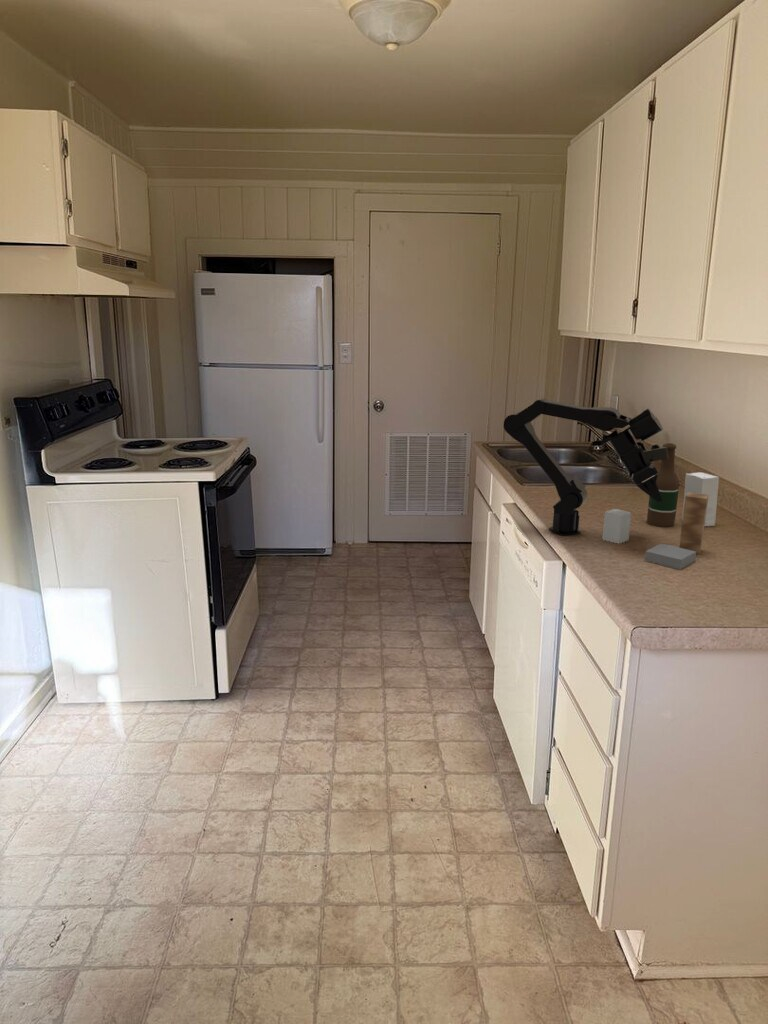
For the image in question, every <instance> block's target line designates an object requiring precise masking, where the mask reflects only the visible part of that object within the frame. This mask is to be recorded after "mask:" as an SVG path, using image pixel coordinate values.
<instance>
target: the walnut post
mask: <svg viewBox="0 0 768 1024" xmlns="http://www.w3.org/2000/svg"><path fill="white" fill-rule="evenodd" d="M708 496H709V495H708V494H699V493H690V492H688V493H687V495H686V497H685V505H684V513H683V512H682V515H683V520H681V521H682V522H681V530H680V540H679V546H678V547H679V548H683V549H687V550H692V551H696V555H700V554H701V552H702V548H703V540H704V532H705V527H706V526H705V519H706V511H707V504H708Z"/></svg>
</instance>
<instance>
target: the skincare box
mask: <svg viewBox="0 0 768 1024" xmlns="http://www.w3.org/2000/svg"><path fill="white" fill-rule="evenodd" d="M719 482H720V476H716V475H713V474H710V473H706V472H702V471H701V472H689V473H688V472H687V473H685V480H684V489H683V490H684V494H683V505H682V514H681V515H682V516H681V517H682V518H681V521H683V513H684V505H685V497H686V495H687V493H688V492H690V493H699V494H708V495H709V496H708V504H707V511H706V519H705V526H704V527H715V526H716V517H717V507H718V506H717V505H718V504H717V503H718V494H719V493H718V492H719Z"/></svg>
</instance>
